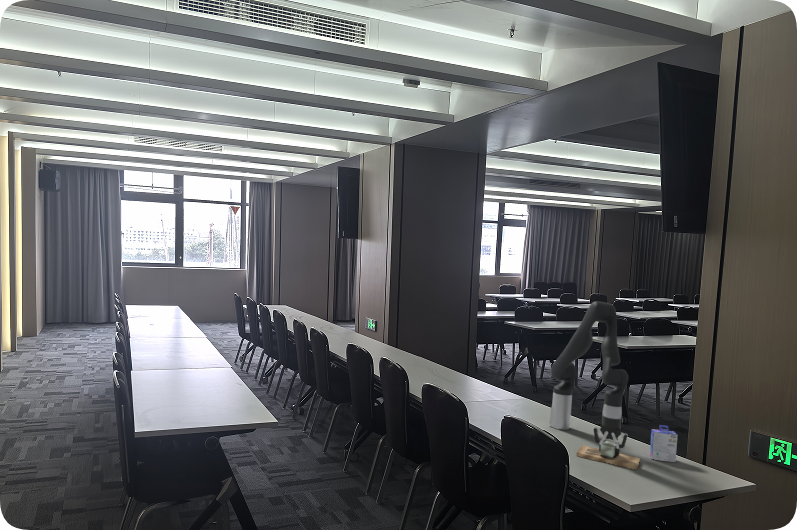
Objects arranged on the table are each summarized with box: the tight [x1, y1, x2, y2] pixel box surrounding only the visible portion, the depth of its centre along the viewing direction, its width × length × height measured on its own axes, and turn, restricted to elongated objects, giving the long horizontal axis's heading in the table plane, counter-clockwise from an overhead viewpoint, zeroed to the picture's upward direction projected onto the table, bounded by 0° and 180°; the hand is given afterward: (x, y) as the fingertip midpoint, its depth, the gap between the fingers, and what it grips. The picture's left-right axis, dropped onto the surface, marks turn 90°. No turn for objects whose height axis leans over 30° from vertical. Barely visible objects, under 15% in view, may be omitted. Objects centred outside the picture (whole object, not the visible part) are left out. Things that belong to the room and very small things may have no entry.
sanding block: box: [600, 440, 616, 459], centre depth 236 cm, size 5×9×4 cm, turn 144°
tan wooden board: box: [575, 445, 641, 471], centre depth 236 cm, size 24×12×2 cm, turn 60°
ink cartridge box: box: [649, 424, 679, 463], centre depth 241 cm, size 10×6×14 cm, turn 78°
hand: (608, 454), depth 235 cm, fingers closed on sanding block, 5 cm apart
